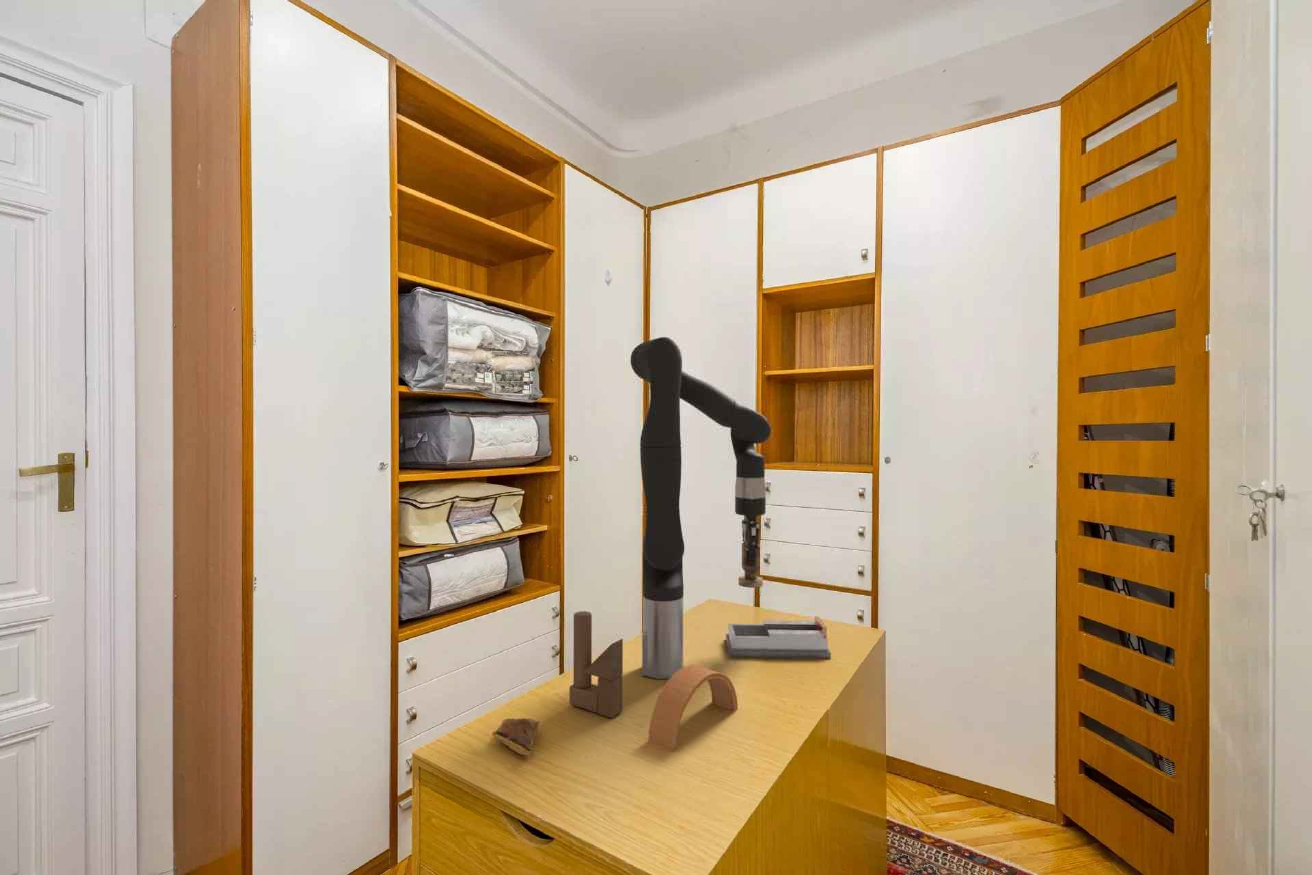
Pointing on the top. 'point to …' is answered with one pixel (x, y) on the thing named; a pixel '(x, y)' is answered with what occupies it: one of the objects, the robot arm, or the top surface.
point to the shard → (517, 734)
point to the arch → (686, 701)
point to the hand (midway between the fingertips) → (750, 563)
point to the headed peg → (750, 570)
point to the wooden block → (595, 671)
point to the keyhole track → (779, 639)
